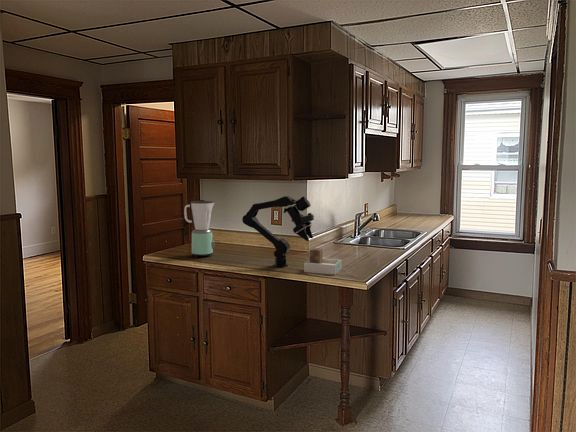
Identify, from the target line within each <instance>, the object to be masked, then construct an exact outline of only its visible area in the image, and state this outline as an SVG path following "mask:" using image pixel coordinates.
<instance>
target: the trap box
mask: <svg viewBox="0 0 576 432" xmlns="http://www.w3.org/2000/svg"><path fill="white" fill-rule="evenodd" d="M341 270H342V259H333V258H323V257H322V263H321V264H316V263H309V262H303V272H304V273H314V274H323V275H325V274H326V275H337V274H338V273H339V272H340V271H341Z"/></svg>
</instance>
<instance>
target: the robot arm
mask: <svg viewBox="0 0 576 432" xmlns="http://www.w3.org/2000/svg"><path fill="white" fill-rule="evenodd" d="M311 206H312V205H311V203H310V201H309V200H308V199H307V198H306V196H305V195H304V196H302V197H300V198H299V199H298V200H297V199H294V198H292V196H290V195H284V196H282V197H280V198H277V199H273V200H268V201H264V202H258V203H254V204H252V206H251V207H250V208H249V210H248V211H247V212H246V213H245V214H244V215H243V216H242V218H241V220H242V223H243V224H244V225H246V226H247V227H249V228H252V229H254V230H256V231H257V232H258V233H259V234H260V235H261V236H263V237H264V238H265V239H266V240H267V241H269V242H270V243H271V244H272V245H273V247H274V248H275V251H273V255H274V264H272V266H274V267H277V268H283V267H288V266H289V265H288V264H287V256H286V255H287V254H288V252H289V251H290V250H291V245H290V243H289V241H288V240H286V239H285V238H284V237H282V238H279V237H277V236H276V234H273V232H272V231H270V230H269V229H267V228H266V227H265V226H264V225H263V224H262V223H260V221H259V220H258V218H257V215H258V213H259V212H260V210H265V209H269V208H275V207H276V208H280V207H283V214H286V213H288V215H289V217H290V218H291V223H292V222H293V223H294V225H295V226H294V227H293V228H292V232H293V233H294V234H296V236H298V237H300V238H302V239H304V240H305V241H306V242H309V241H310V239H314V236H313V232H312V230H311V229H312V228H311V227H312V225H313V223H312V221H315V218H314V217H315V215H314V214H312V212H308V213H307V214H306V215H304V214H303V213H300V212H304V211H305V210H307V209H308V208H311ZM309 238H310V239H309Z"/></svg>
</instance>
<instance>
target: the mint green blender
mask: <svg viewBox="0 0 576 432" xmlns="http://www.w3.org/2000/svg"><path fill="white" fill-rule="evenodd" d="M215 203H216V201H211V200H205V199H199V200H194V201H193V200H192V201H190V203H189V204H186V205H185V206H184V208H183V209H184V211H183V214H184V220H185V221H186V222H187V223H190V224H193V228H194V229H193V230H192V231H191V255H192V256H194V258H198V257H207V258H210V257H211V255H213V254H214V248H215V247H216V240H214V238H213V237H214V236H213V231H212V229H211V228H210V225H211V217H212V211H213V208H214V205H215ZM187 208H190V213H191V219H188V212H187Z"/></svg>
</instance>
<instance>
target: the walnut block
mask: <svg viewBox="0 0 576 432" xmlns="http://www.w3.org/2000/svg"><path fill="white" fill-rule="evenodd" d="M308 251H309V252H308V253H309V254H308V255H309V256H308V257H309V258H308V263H316V264H321V263H322V258H323V257H324V256H323V254H324V251H323V248H319V247H316V248H315V247H312V248H310V249H309V250H308Z"/></svg>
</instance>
